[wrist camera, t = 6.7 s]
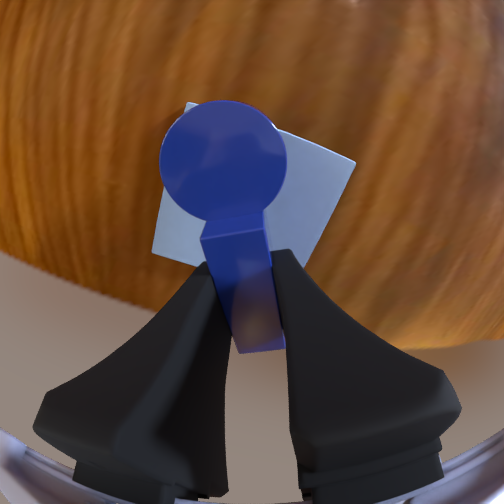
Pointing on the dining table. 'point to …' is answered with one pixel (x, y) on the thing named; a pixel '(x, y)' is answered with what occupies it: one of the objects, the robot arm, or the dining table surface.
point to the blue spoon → (232, 208)
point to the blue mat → (278, 212)
